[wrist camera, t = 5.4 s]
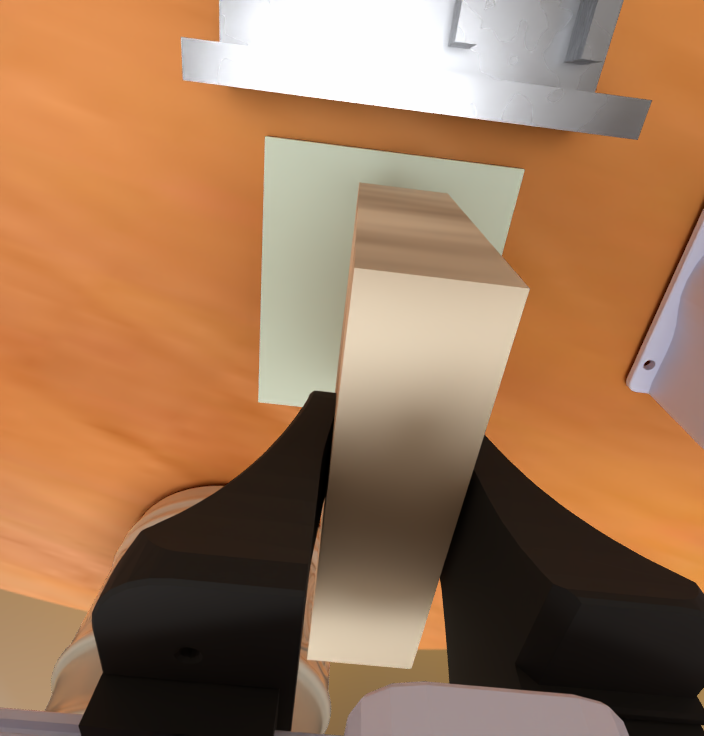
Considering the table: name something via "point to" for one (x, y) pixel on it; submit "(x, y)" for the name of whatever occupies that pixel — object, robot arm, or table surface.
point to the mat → (341, 245)
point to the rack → (427, 57)
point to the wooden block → (406, 417)
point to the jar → (82, 662)
